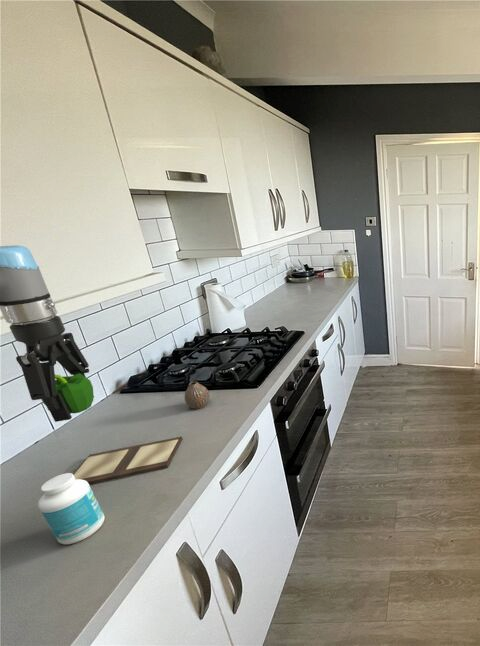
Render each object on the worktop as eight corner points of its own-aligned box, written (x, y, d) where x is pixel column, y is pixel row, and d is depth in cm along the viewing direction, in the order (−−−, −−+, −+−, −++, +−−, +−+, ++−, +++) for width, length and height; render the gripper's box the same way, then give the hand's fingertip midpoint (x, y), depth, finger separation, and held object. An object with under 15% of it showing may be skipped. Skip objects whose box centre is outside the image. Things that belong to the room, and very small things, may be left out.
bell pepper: (105, 396, 88) (90, 361, 84) (91, 414, 81) (74, 376, 77) (62, 405, 85) (44, 368, 81) (43, 424, 78) (24, 385, 74)
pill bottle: (113, 521, 76) (89, 474, 71) (69, 552, 70) (40, 501, 65) (95, 510, 79) (71, 463, 74) (51, 538, 73) (23, 489, 68)
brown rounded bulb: (214, 404, 118) (208, 382, 115) (191, 414, 113) (184, 391, 110) (207, 397, 122) (201, 375, 119) (185, 406, 117) (177, 384, 114)
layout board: (63, 490, 85) (61, 486, 84) (91, 457, 95) (89, 453, 95) (167, 467, 91) (166, 464, 91) (182, 439, 102) (181, 435, 101)
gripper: (19, 334, 66) (67, 432, 74) (84, 303, 85) (117, 384, 93) (-33, 340, 64) (22, 440, 72) (46, 307, 83) (82, 389, 91)
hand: (75, 408), depth 82 cm, fingers closed on bell pepper, 8 cm apart
